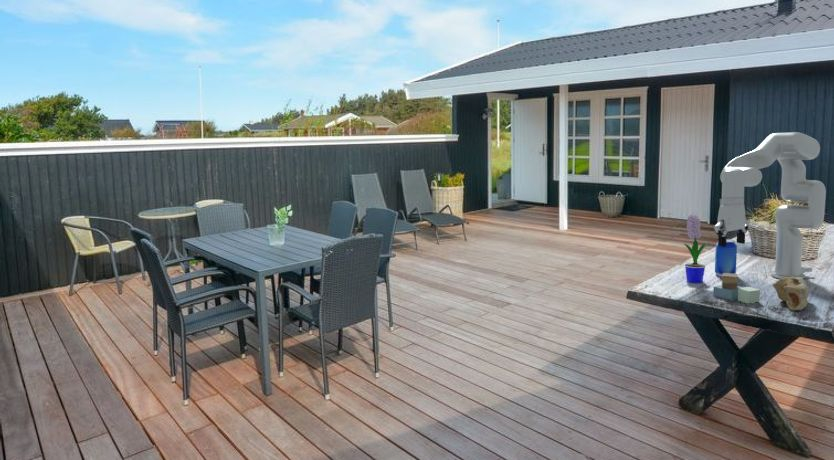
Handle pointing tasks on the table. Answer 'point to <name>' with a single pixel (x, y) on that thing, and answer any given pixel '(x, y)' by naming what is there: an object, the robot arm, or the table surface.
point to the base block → (726, 292)
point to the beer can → (726, 258)
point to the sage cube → (748, 295)
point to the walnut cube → (729, 281)
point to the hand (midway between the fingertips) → (731, 244)
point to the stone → (792, 292)
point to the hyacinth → (694, 251)
